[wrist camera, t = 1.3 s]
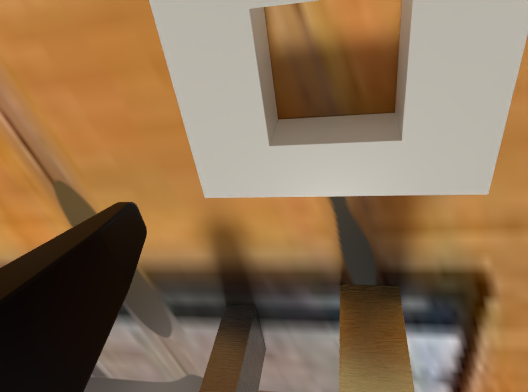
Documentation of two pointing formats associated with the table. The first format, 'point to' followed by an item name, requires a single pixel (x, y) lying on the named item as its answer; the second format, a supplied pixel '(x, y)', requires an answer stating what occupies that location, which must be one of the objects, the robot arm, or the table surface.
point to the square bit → (373, 340)
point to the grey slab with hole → (351, 126)
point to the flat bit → (236, 352)
